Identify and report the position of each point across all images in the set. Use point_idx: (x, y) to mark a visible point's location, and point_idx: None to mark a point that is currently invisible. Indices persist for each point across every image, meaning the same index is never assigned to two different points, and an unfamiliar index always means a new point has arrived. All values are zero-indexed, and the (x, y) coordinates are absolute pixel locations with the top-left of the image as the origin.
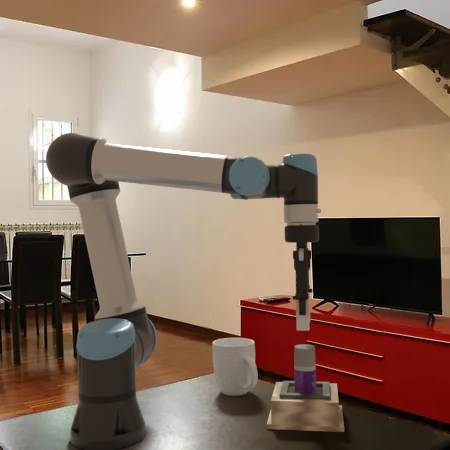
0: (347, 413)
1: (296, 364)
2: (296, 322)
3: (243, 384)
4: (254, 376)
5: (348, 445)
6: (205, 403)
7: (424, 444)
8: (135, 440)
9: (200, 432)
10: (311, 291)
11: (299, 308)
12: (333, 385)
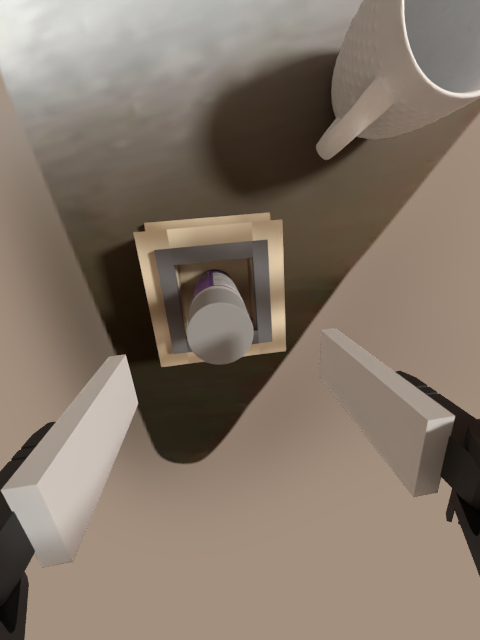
0: None
1: (196, 298)
2: (94, 375)
3: (341, 118)
4: (321, 149)
5: None
6: (272, 29)
7: (156, 445)
8: None
9: (80, 73)
10: (450, 515)
11: (12, 461)
12: (271, 346)
